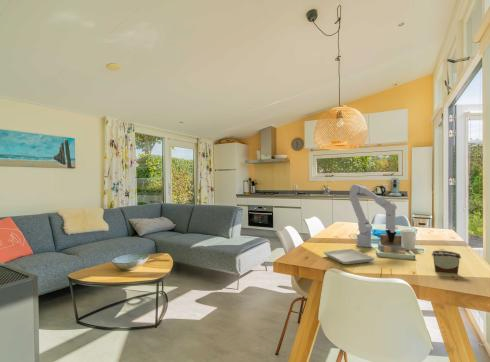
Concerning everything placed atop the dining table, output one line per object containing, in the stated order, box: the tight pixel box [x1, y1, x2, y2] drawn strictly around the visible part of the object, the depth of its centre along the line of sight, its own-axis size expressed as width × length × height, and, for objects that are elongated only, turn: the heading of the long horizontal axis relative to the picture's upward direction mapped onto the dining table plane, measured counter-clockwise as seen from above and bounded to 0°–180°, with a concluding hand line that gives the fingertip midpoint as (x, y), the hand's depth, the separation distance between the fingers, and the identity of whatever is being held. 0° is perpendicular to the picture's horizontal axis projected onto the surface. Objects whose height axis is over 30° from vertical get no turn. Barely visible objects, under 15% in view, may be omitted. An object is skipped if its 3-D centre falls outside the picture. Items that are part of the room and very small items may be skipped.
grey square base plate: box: [377, 241, 406, 253], centre depth 179 cm, size 14×13×4 cm
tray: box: [375, 247, 416, 261], centre depth 167 cm, size 20×12×2 cm, turn 70°
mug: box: [400, 229, 417, 251], centre depth 186 cm, size 12×8×12 cm
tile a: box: [384, 246, 391, 253], centre depth 171 cm, size 4×4×2 cm
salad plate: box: [323, 248, 375, 265], centre depth 160 cm, size 21×21×3 cm
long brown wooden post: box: [379, 233, 401, 245], centre depth 181 cm, size 12×3×6 cm, turn 70°
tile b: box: [397, 250, 406, 254], centre depth 166 cm, size 4×4×2 cm
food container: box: [431, 250, 462, 275], centre depth 139 cm, size 12×6×10 cm, turn 71°
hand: (390, 241), depth 181 cm, fingers open, 3 cm apart
